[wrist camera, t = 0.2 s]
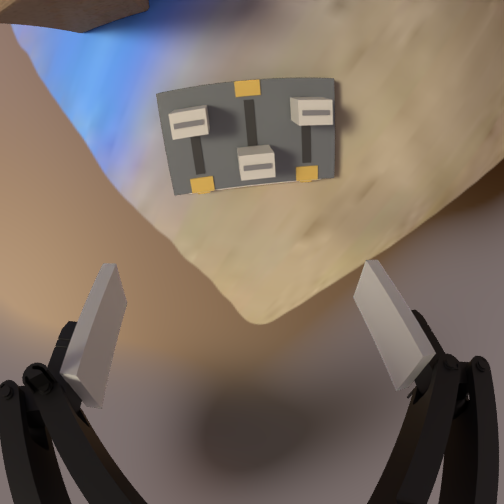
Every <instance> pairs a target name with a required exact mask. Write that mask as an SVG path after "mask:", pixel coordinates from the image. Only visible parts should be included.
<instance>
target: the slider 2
mask: <svg viewBox="0 0 504 504" xmlns="http://www.w3.org/2000/svg"><path fill="white" fill-rule="evenodd" d="M237 153H238V163H239V171H240V176H241V181H243V180H252V179H261V178H271V177H276V176H275V158H274V152H273V150H272V149H271V147H270V146H269V145H259V146H249V147H240V148H237Z"/></svg>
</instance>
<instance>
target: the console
mask: <svg viewBox="0 0 504 504" xmlns="http://www.w3.org/2000/svg"><path fill="white" fill-rule="evenodd" d="M156 97H157V103H158V110H159V116H160V122H161V128H162V133H163V139H164V144H165V150H166V155H167V160H168V166H169V171H170V176H171V180H172V185H173V190H174V195H181V194H188V193H189V194H193V193H198V194H203V193H210V191H215V190H222V189H230V188H238V187H247V186H255V185H265V184H274V183H285V182H296V181H300V182H312V180H320V179H324V178H334V166H335V94H334V78H272V79H255V80H243V81H233V82H224V83H216V84H208V85H201V86H195V87H189V88H183V89H177V90H172V91H167V92H162V93H158V94H156ZM290 97H324V98H327V99H331V100H332V104H333V125H304V126H299V125H297V124H296V123H294V122H293V121H291V108H290ZM202 105H207V109H208V117H209V125H210V130H209V134H206V135H200V136H193V137H187V138H181V139H175V140H173V139H172V133H171V127H170V121H169V115H168V114H170V113H171V112H172V111H174V110H178V109H183V108H189V107H195V106H202ZM259 145H269V146H270V147H271V149H272V150H273V152H274V158H275V176H276V177H271V178H261V179H252V180H243V181H241V176H240V171H239V163H238V153H237V148H240V147H249V146H259Z"/></svg>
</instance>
